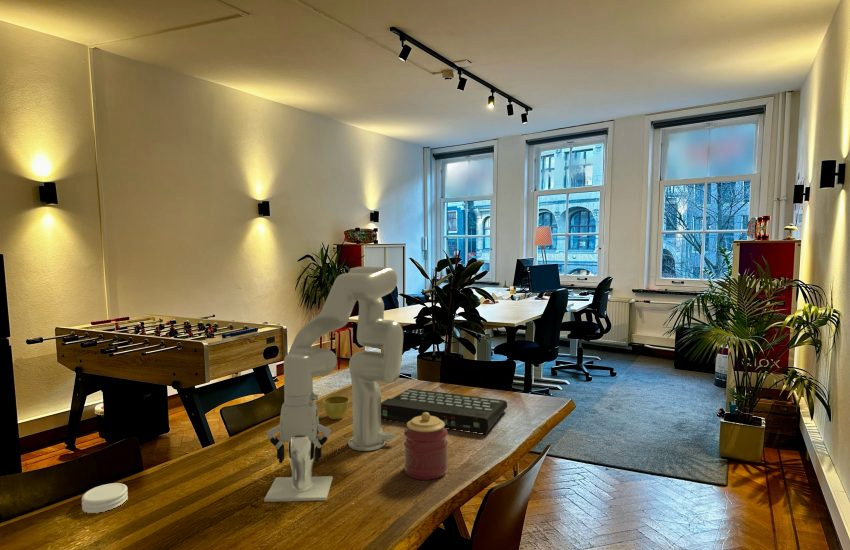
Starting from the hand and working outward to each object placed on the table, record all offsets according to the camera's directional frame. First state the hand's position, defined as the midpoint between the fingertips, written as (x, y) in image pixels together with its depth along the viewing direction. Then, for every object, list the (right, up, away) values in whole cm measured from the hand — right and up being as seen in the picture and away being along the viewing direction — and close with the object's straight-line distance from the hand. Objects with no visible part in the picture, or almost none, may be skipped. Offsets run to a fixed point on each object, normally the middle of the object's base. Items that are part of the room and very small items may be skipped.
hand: (299, 460), depth 134 cm
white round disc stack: (-49, -9, -7) cm, 50 cm away
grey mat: (0, -8, 0) cm, 8 cm away
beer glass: (+1, -8, +1) cm, 8 cm away
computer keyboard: (+41, -6, +61) cm, 74 cm away
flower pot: (-1, -5, +58) cm, 59 cm away
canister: (+35, -8, +12) cm, 37 cm away
